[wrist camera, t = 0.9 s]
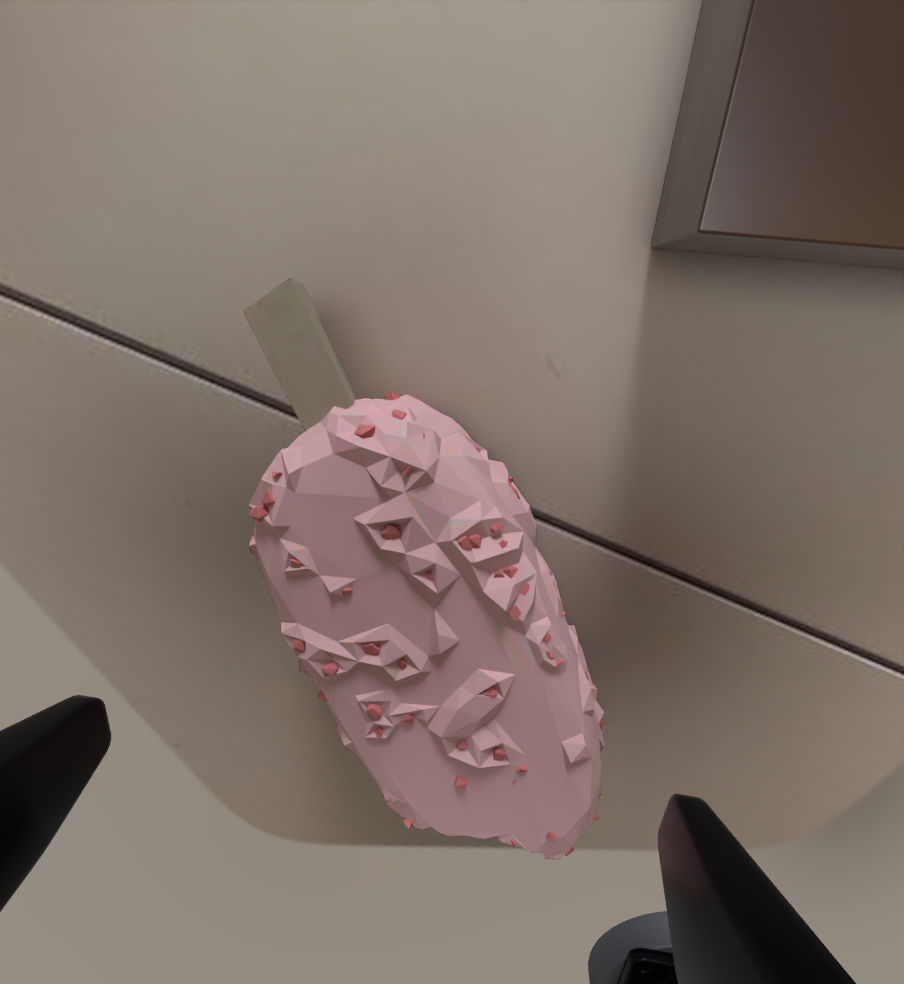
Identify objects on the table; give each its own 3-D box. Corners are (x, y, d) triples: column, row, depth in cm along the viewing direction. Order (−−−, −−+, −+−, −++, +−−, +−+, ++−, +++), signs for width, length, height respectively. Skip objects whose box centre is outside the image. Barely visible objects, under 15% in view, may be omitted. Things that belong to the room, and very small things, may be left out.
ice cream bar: (392, 195, 7) (664, 872, 12) (430, 235, 11) (623, 728, 16) (68, 362, 9) (413, 917, 13) (203, 345, 13) (435, 773, 17)
